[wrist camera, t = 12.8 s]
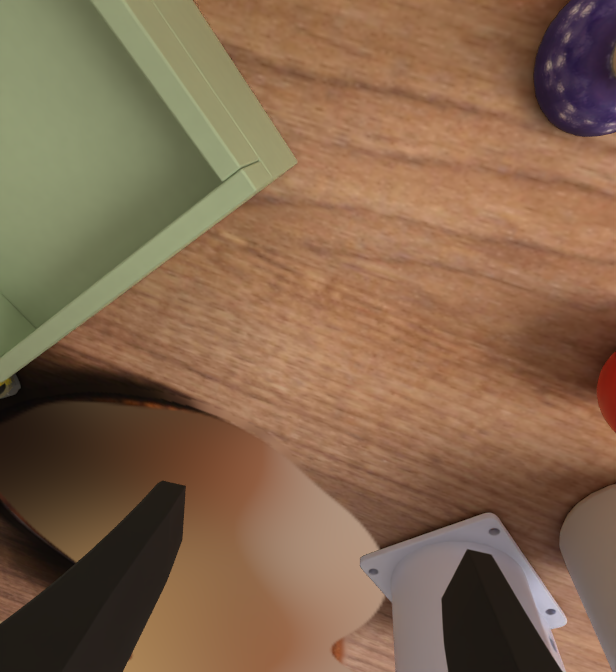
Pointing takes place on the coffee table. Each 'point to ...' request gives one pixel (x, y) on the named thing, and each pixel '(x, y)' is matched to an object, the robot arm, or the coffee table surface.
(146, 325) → the coffee table surface
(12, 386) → the race car
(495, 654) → the robot arm
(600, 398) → the ball
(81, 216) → the open box
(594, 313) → the coffee table surface
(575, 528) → the cup
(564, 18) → the toy lamp
